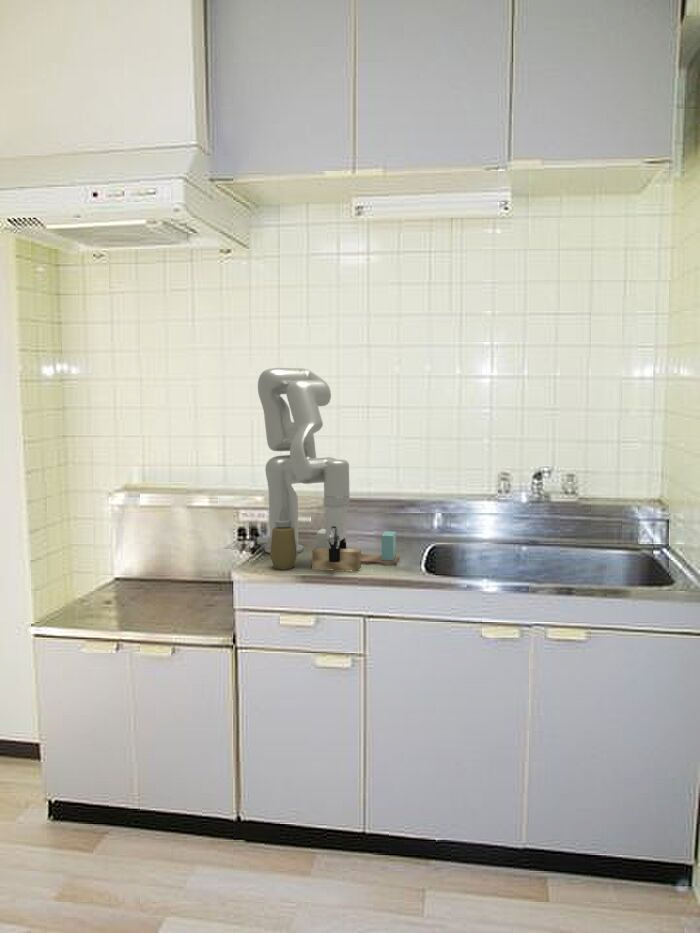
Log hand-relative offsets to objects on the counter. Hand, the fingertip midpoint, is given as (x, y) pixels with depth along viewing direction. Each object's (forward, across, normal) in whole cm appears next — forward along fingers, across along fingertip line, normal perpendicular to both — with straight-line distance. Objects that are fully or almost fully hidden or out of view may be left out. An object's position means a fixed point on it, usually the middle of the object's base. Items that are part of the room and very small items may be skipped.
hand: (337, 558), depth 221 cm
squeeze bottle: (+3, +1, -16) cm, 17 cm away
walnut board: (+3, -12, +4) cm, 13 cm away
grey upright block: (+3, -12, -7) cm, 14 cm away
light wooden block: (+4, 0, 0) cm, 4 cm away
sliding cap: (+2, -12, +14) cm, 18 cm away
